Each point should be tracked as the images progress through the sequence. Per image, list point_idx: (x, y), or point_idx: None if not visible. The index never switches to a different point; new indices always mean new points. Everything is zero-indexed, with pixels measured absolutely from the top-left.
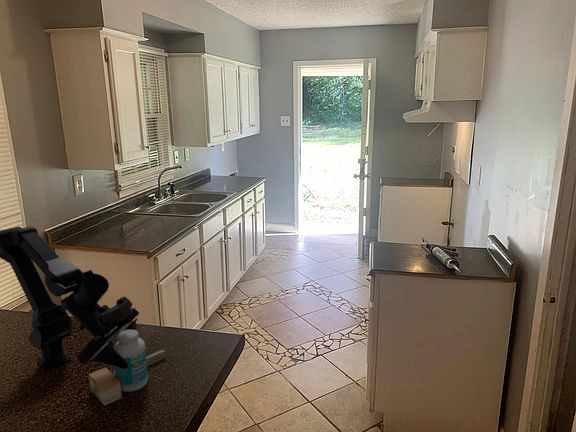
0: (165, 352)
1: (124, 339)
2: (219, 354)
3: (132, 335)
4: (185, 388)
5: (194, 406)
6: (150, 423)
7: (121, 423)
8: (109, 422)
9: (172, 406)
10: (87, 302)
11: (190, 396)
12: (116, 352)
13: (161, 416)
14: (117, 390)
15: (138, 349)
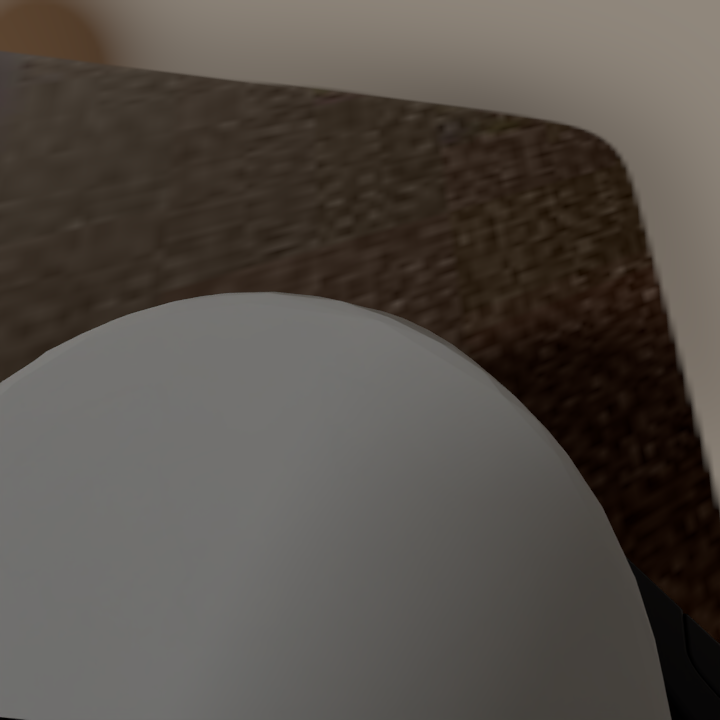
0: (2, 381)
1: (655, 643)
2: (44, 103)
3: (344, 432)
4: (358, 193)
5: (485, 125)
6: (631, 271)
7: (665, 410)
8: (675, 479)
9: (500, 213)
10: None
11: (418, 157)
12: (680, 687)
13: (576, 239)
14: None
15: (425, 331)
